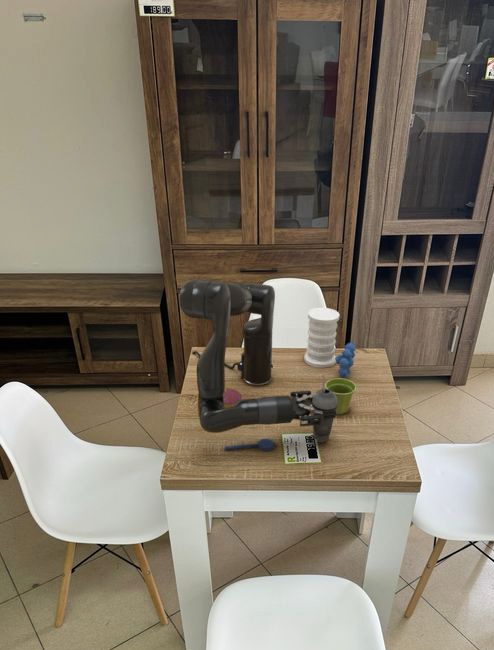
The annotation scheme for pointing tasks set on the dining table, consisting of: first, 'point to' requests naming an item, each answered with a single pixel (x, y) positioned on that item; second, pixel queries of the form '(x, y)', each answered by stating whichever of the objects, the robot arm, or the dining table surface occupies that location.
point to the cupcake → (230, 397)
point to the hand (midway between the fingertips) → (331, 405)
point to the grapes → (346, 360)
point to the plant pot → (341, 392)
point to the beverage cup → (322, 403)
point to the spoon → (255, 445)
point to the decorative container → (321, 337)
